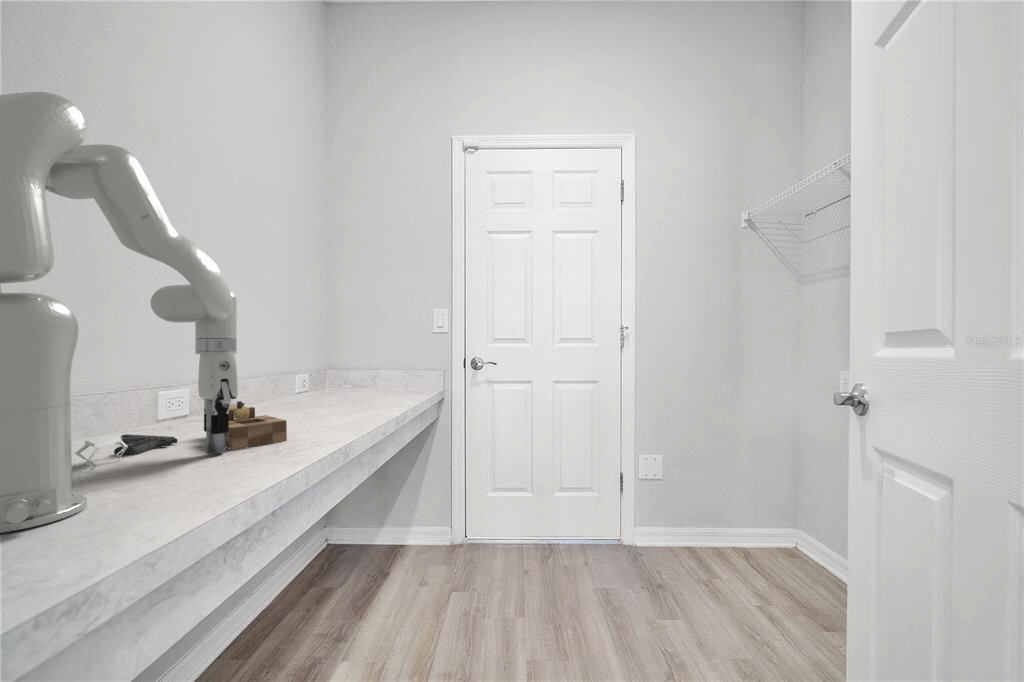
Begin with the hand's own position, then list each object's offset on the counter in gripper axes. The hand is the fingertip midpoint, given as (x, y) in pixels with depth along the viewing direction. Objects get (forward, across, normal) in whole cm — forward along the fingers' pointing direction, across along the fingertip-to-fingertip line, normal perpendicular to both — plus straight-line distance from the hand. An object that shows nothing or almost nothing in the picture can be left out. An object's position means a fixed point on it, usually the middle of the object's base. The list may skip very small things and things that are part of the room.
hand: (216, 431), depth 100 cm
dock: (+5, +7, -10) cm, 13 cm away
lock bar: (-1, +17, -10) cm, 19 cm away
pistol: (+6, +24, +10) cm, 27 cm away
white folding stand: (+6, +10, +17) cm, 21 cm away
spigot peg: (+4, 0, 0) cm, 4 cm away
